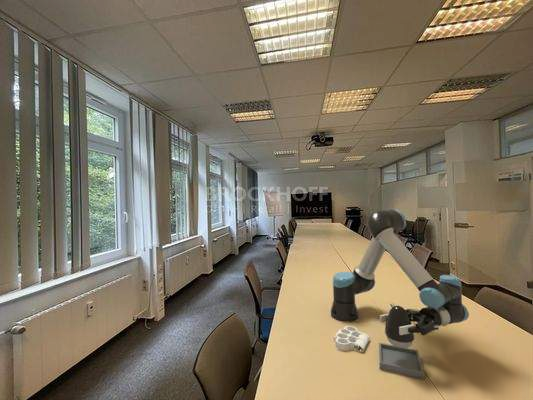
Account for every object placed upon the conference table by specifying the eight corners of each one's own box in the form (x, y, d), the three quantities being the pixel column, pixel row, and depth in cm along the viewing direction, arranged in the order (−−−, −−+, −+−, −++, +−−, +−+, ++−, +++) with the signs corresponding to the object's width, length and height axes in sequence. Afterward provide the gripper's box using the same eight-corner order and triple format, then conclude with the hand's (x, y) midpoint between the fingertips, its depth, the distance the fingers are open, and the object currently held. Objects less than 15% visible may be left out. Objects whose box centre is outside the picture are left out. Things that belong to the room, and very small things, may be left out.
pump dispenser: (404, 336, 104) (403, 300, 104) (420, 351, 93) (419, 311, 93) (380, 337, 103) (379, 301, 104) (393, 352, 93) (392, 312, 93)
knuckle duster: (361, 358, 102) (327, 347, 110) (371, 338, 117) (340, 329, 125) (361, 350, 102) (327, 339, 111) (371, 331, 117) (340, 323, 125)
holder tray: (379, 369, 95) (379, 362, 95) (379, 348, 108) (379, 342, 108) (424, 379, 89) (424, 372, 89) (418, 356, 102) (417, 350, 102)
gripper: (461, 339, 93) (413, 350, 86) (411, 314, 114) (370, 321, 108) (460, 319, 93) (413, 328, 87) (411, 297, 114) (370, 304, 108)
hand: (389, 324), depth 97 cm, fingers closed on pump dispenser, 9 cm apart
